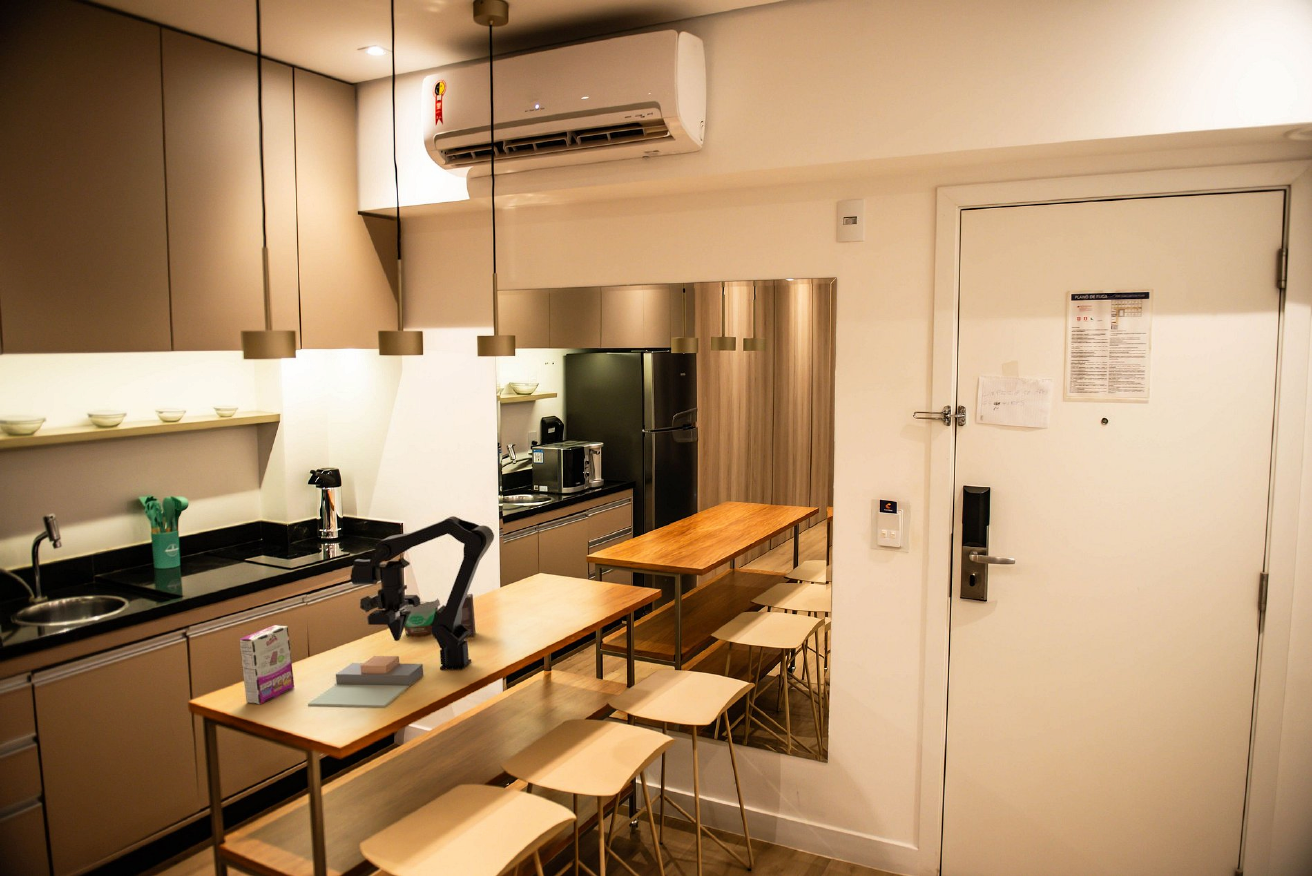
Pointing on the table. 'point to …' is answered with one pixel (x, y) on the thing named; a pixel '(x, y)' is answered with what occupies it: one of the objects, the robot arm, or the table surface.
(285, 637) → the candy bar box
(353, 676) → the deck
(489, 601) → the table surface
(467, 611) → the box
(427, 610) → the food container
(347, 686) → the mat
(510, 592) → the table surface
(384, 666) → the coaster
